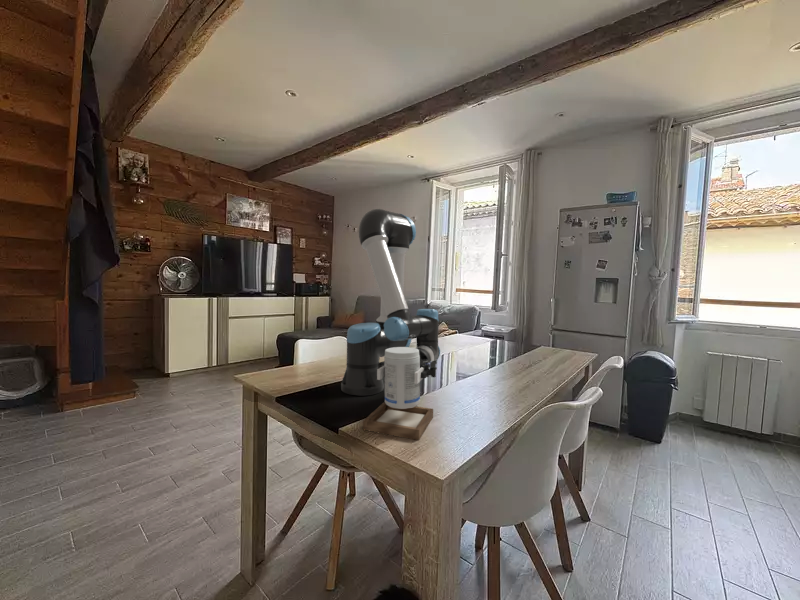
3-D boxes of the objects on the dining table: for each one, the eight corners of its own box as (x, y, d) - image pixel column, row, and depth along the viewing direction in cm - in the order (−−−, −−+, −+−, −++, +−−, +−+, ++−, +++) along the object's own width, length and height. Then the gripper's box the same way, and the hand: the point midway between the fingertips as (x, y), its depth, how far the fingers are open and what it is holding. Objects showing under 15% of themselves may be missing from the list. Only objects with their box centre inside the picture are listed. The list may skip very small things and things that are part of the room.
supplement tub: (418, 398, 94) (419, 346, 94) (421, 410, 85) (421, 353, 84) (384, 397, 94) (385, 346, 94) (383, 410, 85) (383, 352, 84)
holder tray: (363, 430, 85) (363, 420, 85) (384, 409, 100) (384, 401, 99) (419, 440, 81) (419, 430, 80) (433, 417, 95) (433, 408, 95)
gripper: (454, 374, 103) (439, 395, 82) (387, 368, 110) (357, 386, 89) (454, 350, 103) (439, 365, 81) (387, 345, 110) (357, 358, 88)
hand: (396, 376), depth 85 cm, fingers closed on supplement tub, 9 cm apart
